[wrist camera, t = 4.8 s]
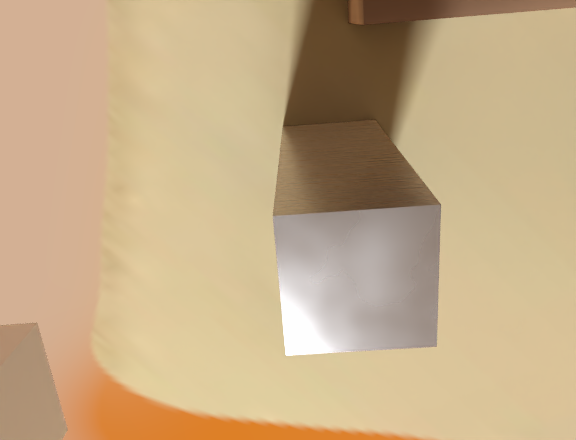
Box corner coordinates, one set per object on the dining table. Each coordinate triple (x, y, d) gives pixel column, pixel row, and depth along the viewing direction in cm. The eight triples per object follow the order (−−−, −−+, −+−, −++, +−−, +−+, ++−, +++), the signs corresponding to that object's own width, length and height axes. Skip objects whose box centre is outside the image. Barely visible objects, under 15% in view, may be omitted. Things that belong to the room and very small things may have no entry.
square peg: (282, 126, 23) (273, 215, 13) (374, 119, 23) (441, 204, 12) (289, 211, 24) (285, 355, 14) (376, 206, 24) (436, 346, 14)
